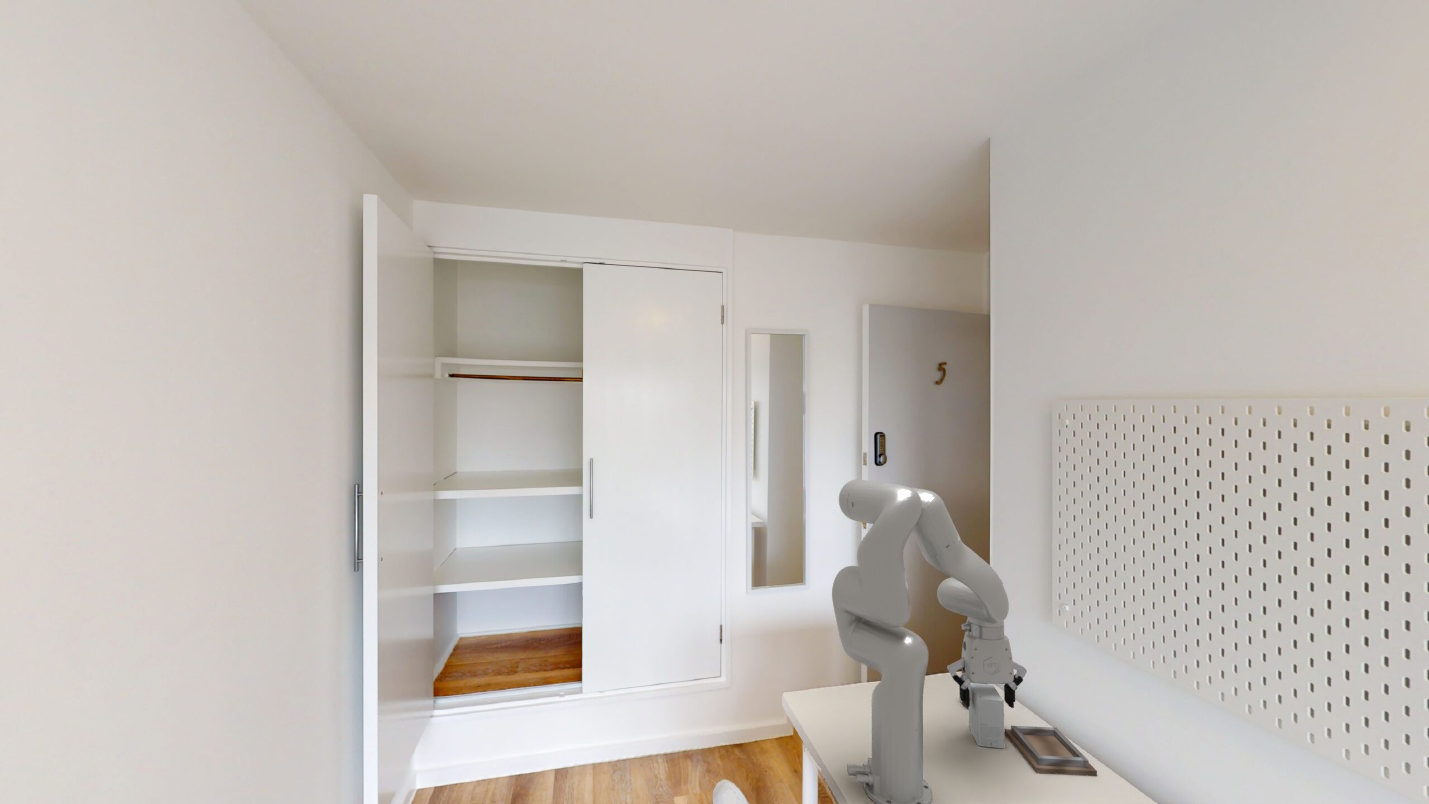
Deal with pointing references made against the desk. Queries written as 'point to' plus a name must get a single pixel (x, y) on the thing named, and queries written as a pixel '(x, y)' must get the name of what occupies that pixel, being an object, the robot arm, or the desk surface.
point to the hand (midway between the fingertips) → (987, 704)
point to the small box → (986, 715)
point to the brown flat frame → (1049, 751)
